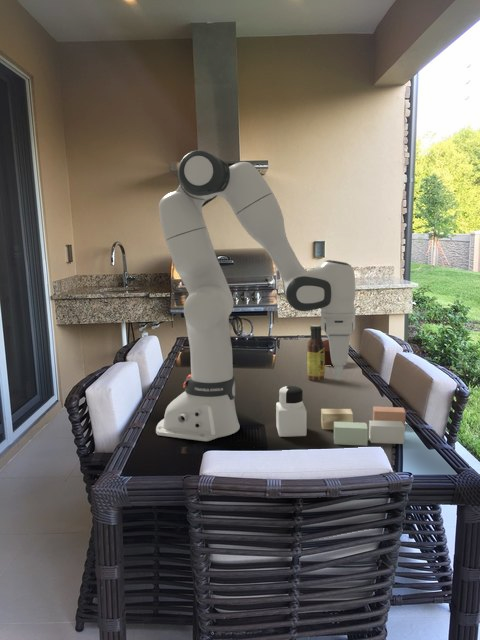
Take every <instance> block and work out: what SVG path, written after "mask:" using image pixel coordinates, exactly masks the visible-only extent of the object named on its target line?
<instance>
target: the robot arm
mask: <svg viewBox="0 0 480 640" xmlns="http://www.w3.org/2000/svg"><path fill="white" fill-rule="evenodd" d="M177 179H178V181H179V185H178V187H177V189H175V191H171V192H168V193H167V194H166V195H164V196H163V197H162V198H161V199H160V201H159V203H158V212H159V213H158V214H159V219H160V225H161V229H162V232H163V236H164V239H165V242H166V245H167V249H168V252H169V254H170V257H171V261H172V263H173V266H174V269H175V271H176V273H177V274H178V275H179V277H180V279H181V281H182V284H183V285H184V287H185V289H186V291H187V293H188V296H187V297H186V299H185V301H184V305H183V316H184V319H185V324H186V325H185V326H186V327H185V328H186V332H187V333H186V334H187V337H188V338H187V339H188V344H189V352H190V372H191V373H190V374H188V376H186V379H185V380H184V381H183V382H184V383H183V384H182V385H183V386H182V387H183V389H184V391H183V392H182V393H181V394H179V395H178V396H177V397H176V398H174V399H173V400H172V401H170V403H169V404H168V405H167V407H166V408H165V412H164V418H163V419H161V420H160V421H159V422H158V423H157V425H156V427H155V433H156V434H157V436H162V437H170V438H177V439H185V440H193V441H199V442H200V441H201V442H209V441H210V442H211V441H212V440H215V439H218V438H222V437H227V436H230V435H232V434H235V433H237V432H238V431H239V430H240V423H239V420H238V416H237V411H236V405H235V396H236V383H235V376H234V374H233V373H234V372H233V370H234V369H233V348H232V347H233V346H232V341H231V333H230V322H229V320H230V319H229V318H230V315H231V314H232V313H233V310H234V305H235V304H234V301H235V300H234V297H233V294H232V291H231V289H230V286H229V283H228V282H227V279H226V277H225V274H224V271H223V269H222V267H221V265H220V263H219V260H218V258H217V255H216V251H215V249H214V246H213V244H212V243H213V242H212V240H211V236H210V234H209V231H208V228H207V225H206V222H205V219H204V218H205V217H204V214H203V207H204V206H206V205H207V204H209V203H210V202H211V201H213V200H214V199H215V198H216V197H221V198H223V199H224V200H225V201H226V202H227V203H228V205H229V206H230V207H231V209H232V211H233V213H234V215H235V217H236V218H237V220H238V221H239V223H240V225H241V226H242V228H243V229H244V231H246V232H247V234H248V235H249V236H250V238H252V239H253V240H254V241H255V242H257V243H258V244H259V245H260V246H261V247H263V249H264V250H265V251H266V253H267V254H268V255H269V257H270V259H271V260H272V263H273V265H275V267H276V268H275V269H277V271H278V273H279V275H280V276H281V277H280V278H281V279H282V286H283V287H282V288H283V294H284V297H285V299H286V300H287V301H286V302H287V303H288V304H289V306H290V307H292V308H293V309H294V310H296V311H298V312H310V311H315V310H319V309H320V325H321V331H322V330H323V332H324V333H325V336H326V337H327V340H328V339H329V346H330V354H331V361H332V364H333V365H334V367H333V369H334V379H336V380H342V379H343V372H344V371H343V370H344V366H346V365H347V362H348V359H349V350H350V349H349V348H350V340H351V335H352V334H353V332H354V331H355V330H356V308H355V298H356V277H355V276H356V275H355V271H354V268H353V267H352V265H351V264H349V263H348V262H344V261H338V260H331V259H328V260H324V261H323V262H322V263H321V264H320V265H318V266H316V267H314V268H312V269H310V270H306V269H305V268H304V267H303V266H302V264H301V262H300V261H299V259H298V257H297V255H296V254H295V252H294V250H293V248H292V246H291V244H290V242H289V240H288V236H287V234H286V230H285V229H286V227H285V219H284V215H283V213H282V209H281V207H280V203H279V201H278V200H277V198H276V196H275V194H274V193H273V190H272V189H271V187H270V185H269V184H268V182H267V181H266V180H265V177H264V176H263V175H262V173H260V172H259V170H258V169H257V168H256V167H255V166H254V165H253V164H252V163H251V162H247V161H239V162H236V163H234V164H232V165H230V166H229V164H228V163H227V162H226V161H224V160H223V159H220V158H219V157H217V156H216V155H214V154H213V153H211V152H209V151H206V150H201V149H200V150H199V149H198V150H197V149H196V150H193V151H189V152H188V153H187V154H186V155H184V156H183V158H182V159H181V160H180V161H179V164H178V167H177Z"/></svg>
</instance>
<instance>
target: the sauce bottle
mask: <svg viewBox="0 0 480 640" xmlns="http://www.w3.org/2000/svg"><path fill="white" fill-rule="evenodd" d="M309 327H310V328H309V329H310V339H309V341H308V342H307V353H306V354H307V355H306V356H307V357H306V361H307V363H306V364H307V365H306V366H307V369H306V370H307V373H306V375H307V380H309V381H312V382H320V381H323V380H324V379H325V373H326V371H325V370H326V369H325V367H326V366H325V347H324V344H323V341H324V340H323V339H322V329H321V324H311V325H310V326H309Z"/></svg>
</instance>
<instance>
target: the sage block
mask: <svg viewBox="0 0 480 640" xmlns="http://www.w3.org/2000/svg"><path fill="white" fill-rule="evenodd" d="M368 439H369V427H368V424H367V422H354V421H353V422H334V429H333V444H334V445H345V446H346V445H347V446H366V447H367V446H368Z"/></svg>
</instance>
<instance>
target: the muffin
mask: <svg viewBox="0 0 480 640" xmlns="http://www.w3.org/2000/svg"><path fill="white" fill-rule="evenodd" d="M322 341H323V344H324V347H325V365H331V366H333V364H332V361H331V354H330V346H329V339H328V338H327V339H325V340H322Z"/></svg>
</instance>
